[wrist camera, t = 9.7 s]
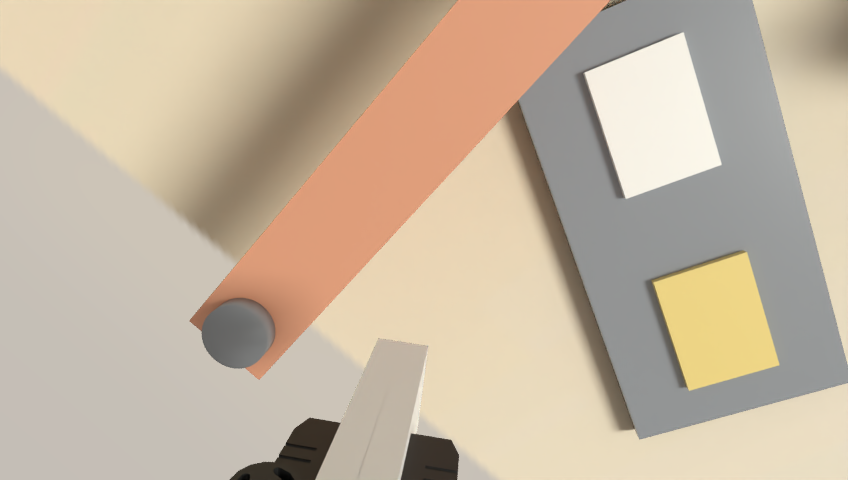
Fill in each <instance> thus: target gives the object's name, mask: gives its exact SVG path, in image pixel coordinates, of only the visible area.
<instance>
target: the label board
mask: <svg viewBox="0 0 848 480" xmlns="http://www.w3.org/2000/svg"><path fill="white" fill-rule="evenodd" d="M518 103H519V106H520V109H521V111H522V114H523V117H524V120H525V123H526V125H527V128H528V131H529V134H530V137H531V140H532V142H533V145H534V148H535V151H536V154H537V156H538V159H539V162H540V165H541V168H542V170H543V173H544V176H545V179H546V182H547V184H548V187H549V190H550V193H551V196H552V198H553V201H554V204H555V207H556V210H557V212H558V215H559V218H560V221H561V224H562V227H563V229H564V232H565V235H566V238H567V241H568V243H569V246H570V249H571V252H572V255H573V257H574V260H575V263H576V266H577V269H578V271H579V274H580V277H581V280H582V283H583V285H584V288H585V291H586V294H587V297H588V299H589V302H590V305H591V308H592V311H593V314H594V316H595V319H596V322H597V325H598V328H599V330H600V333H601V336H602V339H603V342H604V344H605V347H606V350H607V353H608V356H609V358H610V361H611V364H612V367H613V370H614V372H615V375H616V378H617V381H618V384H619V386H620V389H621V392H622V395H623V398H624V401H625V403H626V406H627V409H628V412H629V415H630V417H631V420H632V423H633V426H634V429H635V431H636V433H637V435H638V437H639V439H643V438H647V437H651V436H654V435H658V434H662V433H665V432H669V431H673V430H676V429H680V428H684V427H687V426H691V425H695V424H699V423H702V422H706V421H710V420H713V419H717V418H721V417H724V416H728V415H732V414H735V413H739V412H743V411H746V410H750V409H754V408H757V407H761V406H765V405H768V404H772V403H776V402H779V401H783V400H787V399H790V398H794V397H798V396H801V395H805V394H809V393H812V392H816V391H820V390H824V389H827V388H831V387H835V386H838V385H842V384H846V383H848V365H847V361H846V357H845V354H844V350H843V346H842V342H841V338H840V335H839V331H838V327H837V323H836V319H835V315H834V312H833V308H832V304H831V300H830V296H829V292H828V289H827V285H826V281H825V277H824V273H823V269H822V266H821V262H820V258H819V254H818V250H817V246H816V243H815V239H814V235H813V231H812V227H811V223H810V220H809V216H808V212H807V208H806V204H805V200H804V197H803V193H802V189H801V185H800V181H799V177H798V174H797V170H796V166H795V162H794V158H793V155H792V151H791V147H790V143H789V139H788V135H787V132H786V128H785V124H784V120H783V116H782V112H781V109H780V105H779V101H778V97H777V93H776V89H775V86H774V82H773V78H772V74H771V70H770V66H769V63H768V59H767V55H766V51H765V47H764V43H763V40H762V36H761V32H760V28H759V24H758V20H757V17H756V13H755V9H754V5H753V1H752V0H626V1H624V2H622V3H619V4H617V5H615V6H612V7H610V8H608V9H605V10H603V11H601V12H599V13H598V14H597V15H596V17H595V18H594V19H593V20H592V21H591V22H590V23H589V24H588V25H587V26H586V27H585V28H584V29H583V31H582V32H581V33H580V34H579V35H578V36H577V37H576V38H575V39H574V40H573V41H572V42H571V44H570V45H569V46H568V47H567V48H566V49H565V50H564V51H563V52H562V53H561V54H560V55H559V56H558V58H557V59H556V60H555V61H554V62H553V63H552V64H551V65H550V66H549V67H548V68H547V69H546V71H545V72H544V73H543V74H542V75H541V76H540V77H539V78H538V79H537V80H536V81H535V82H534V83H533V85H532V86H531V87H530V88H529V89H528V90H527V91H526V92H525V93H524V94H523V95H522V96H521V98H520V99H519V100H518Z"/></svg>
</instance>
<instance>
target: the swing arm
mask: <svg viewBox="0 0 848 480" xmlns="http://www.w3.org/2000/svg"><path fill="white" fill-rule="evenodd" d="M609 1H610V0H458V1H457V2H456V3H455V4H454V6H453V7H452V8H451V9H450V10H449V12H448V13H447V14H446V15H445V16H444V17H443V19H442V20H441V21H440V22H439V23H438V25H437V26H436V27H435V28H434V29H433V31H432V32H431V33H430V34H429V35H428V37H427V38H426V39H425V40H424V41H423V43H422V44H421V45H420V46H419V47H418V48H417V50H416V51H415V52H414V53H413V54H412V56H411V57H410V58H409V59H408V60H407V62H406V63H405V64H404V65H403V66H402V68H401V69H400V70H399V71H398V72H397V74H396V75H395V76H394V77H393V78H392V80H391V81H390V82H389V83H388V84H387V85H386V87H385V88H384V89H383V90H382V91H381V93H380V94H379V95H378V96H377V97H376V99H375V100H374V101H373V102H372V103H371V105H370V106H369V107H368V108H367V109H366V111H365V112H364V113H363V114H362V115H361V117H360V118H359V119H358V120H357V121H356V122H355V124H354V125H353V126H352V127H351V128H350V130H349V131H348V132H347V133H346V134H345V136H344V137H343V138H342V139H341V140H340V142H339V143H338V144H337V145H336V146H335V148H334V149H333V150H332V151H331V152H330V154H329V155H328V156H327V157H326V158H325V159H324V161H323V162H322V163H321V164H320V165H319V167H318V168H317V169H316V170H315V171H314V173H313V174H312V175H311V176H310V177H309V179H308V180H307V181H306V182H305V183H304V185H303V186H302V187H301V188H300V189H299V191H298V192H297V193H296V194H295V195H294V196H293V198H292V199H291V200H290V201H289V202H288V204H287V205H286V206H285V207H284V208H283V210H282V211H281V212H280V213H279V214H278V216H277V217H276V218H275V219H274V220H273V222H272V223H271V224H270V225H269V226H268V228H267V229H266V230H265V231H264V232H263V233H262V235H261V236H260V237H259V238H258V239H257V241H256V242H255V243H254V244H253V245H252V247H251V248H250V249H249V250H248V251H247V253H246V254H245V255H244V256H243V257H242V259H241V260H240V261H239V262H238V263H237V264H236V266H235V267H234V268H233V270H232V271H231V272H230V273H229V274H228V275H227V277H226V278H225V279H224V280H223V281H222V283H221V284H220V285H219V286H218V287H217V288H216V290H215V291H214V292H213V293H212V294H211V296H210V297H209V298H208V299H207V300H206V302H205V303H204V304H203V305H202V306H201V307H200V309H199V310H198V311H197V312H196V314H195V315H194V316H193V317H192V318H191V319H190V322H191V323H192V324H194V325H195V326H196V327H197V328H198V329H200V330H201V331H202V340H203V343H204V346H205V348H206V350H207V351H208V353H209V354H210V355H211V356H212V357H213V358H214V359H215V360H216V361H217V362H219V363H221V364H222V365H225V366H227V367H230V368H246V369H247V370H248V371H249V372H250V373H251V374H253V375H254V376H255V377H256V378H257V379H260V378H261V377H262V376H263V375H264V374H265V373H266V372H267V371H268V370H269V369H270V368H271V366H272V365H273V364H274V363H275V362H276V361H277V360H278V359H279V358H280V357H281V356H282V355H283V354H284V353H285V351H286V350H287V349H288V348H289V347H290V346H291V345H292V344H293V343H294V342H295V341H296V339H297V338H298V337H299V336H300V335H301V334H302V333H303V332H304V331H305V330H306V329H307V328H308V327H309V325H310V324H311V323H312V322H313V321H314V320H315V319H316V318H317V317H318V316H319V315H320V314H321V313H322V311H323V310H324V309H325V308H326V307H327V306H328V305H329V304H330V303H331V302H332V301H333V300H334V298H335V297H336V296H337V295H338V294H339V293H340V292H341V291H342V290H343V289H344V288H345V287H346V286H347V284H348V283H349V282H350V281H351V280H352V279H353V278H354V277H355V276H356V275H357V274H358V273H359V271H360V270H361V269H362V268H363V267H364V266H365V265H366V264H367V263H368V262H369V261H370V260H371V259H372V257H373V256H374V255H375V254H376V253H377V252H378V251H379V250H380V249H381V248H382V247H383V246H384V244H385V243H386V242H387V241H388V240H389V239H390V238H391V237H392V236H393V235H394V234H395V233H396V232H397V230H398V229H399V228H400V227H401V226H402V225H403V224H404V223H405V222H406V221H407V220H408V219H409V217H410V216H411V215H412V214H413V213H414V212H415V211H416V210H417V209H418V208H419V207H420V206H421V204H422V203H423V202H424V201H425V200H426V199H427V198H428V197H429V196H430V195H431V194H432V193H433V192H434V190H435V189H436V188H437V187H438V186H439V185H440V184H441V183H442V182H443V181H444V180H445V179H446V177H447V176H448V175H449V174H450V173H451V172H452V171H453V170H454V169H455V168H456V167H457V166H458V165H459V163H460V162H461V161H462V160H463V159H464V158H465V157H466V156H467V155H468V154H469V153H470V152H471V150H472V149H473V148H474V147H475V146H476V145H477V144H478V143H479V142H480V141H481V140H482V139H483V138H484V136H485V135H486V134H487V133H488V132H489V131H490V130H491V129H492V128H493V127H494V126H495V125H496V123H497V122H498V121H499V120H500V119H501V118H502V117H503V116H504V115H505V114H506V113H507V112H508V110H509V109H510V108H511V107H512V106H513V105H514V104H515V103H516V102H517V101H518V100H519V99H520V98H521V96H522V95H523V94H524V93H525V92H526V91H527V90H528V89H529V88H530V87H531V86H532V85H533V83H534V82H535V81H536V80H537V79H538V78H539V77H540V76H541V75H542V74H543V73H544V72H545V71H546V69H547V68H548V67H549V66H550V65H551V64H552V63H553V62H554V61H555V60H556V59H557V58H558V56H559V55H560V54H561V53H562V52H563V51H564V50H565V49H566V48H567V47H568V46H569V45H570V44H571V42H572V41H573V40H574V39H575V38H576V37H577V36H578V35H579V34H580V33H581V32H582V31H583V29H584V28H585V27H586V26H587V25H588V24H589V23H590V22H591V21H592V20H593V19H594V18H595V17H596V15H597V14H598V13H599V12H600V11H601V10H602V9H603V8H604V7H605V6H606V5H607V4H608V2H609Z"/></svg>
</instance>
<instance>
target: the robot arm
mask: <svg viewBox="0 0 848 480" xmlns="http://www.w3.org/2000/svg"><path fill="white" fill-rule="evenodd" d="M427 352H428V346H425V345H419V344H412V343H406V342H399V341H393V340H386V339H380V338H378V341H377V343H376V345H375V347H374V350H373V352H372V354H371V356H370V358H369V361H368V363H367V365H366V367H365V370H364V372H363V374H362V377H361V379H360V381H359V383H358V385H357V388H356V390H355V392H354V394H353V396H352V399H351V401H350V403H349V406H348V408H347V410H346V412H345V414H344V417H343V419H342V421H341V423H338V422H332V421H326V420H320V419H314V418H309V419H307V420H306V421H304V422H303V423H302V424H300V425H299V426H297V427H296V428H295V429H294V430H293V432H292V434H291V435H290V437H289V439H288V440H287V442H286V446H284V447H283V449H282V451H281V452H280V454H279V458H277V459H276V461H275V462H262V463H257V464H253V465H250V466H247V467H245V468H243V469H242V470H240V471H238V472H237V473H236V474H235V475H234V476H233V477H232V478H231V479H230V480H457V475H458V474H457V473H458V461H459V454H458V452H457V450H456V448H455V446H454V444H453V442H452V440H448V439H442V438H435V437H430V436H424V435H418V434H416V432H417V428H418V421H419V413H420V406H421V398H422V390H423V383H424V375H425V367H426V359H427Z"/></svg>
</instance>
